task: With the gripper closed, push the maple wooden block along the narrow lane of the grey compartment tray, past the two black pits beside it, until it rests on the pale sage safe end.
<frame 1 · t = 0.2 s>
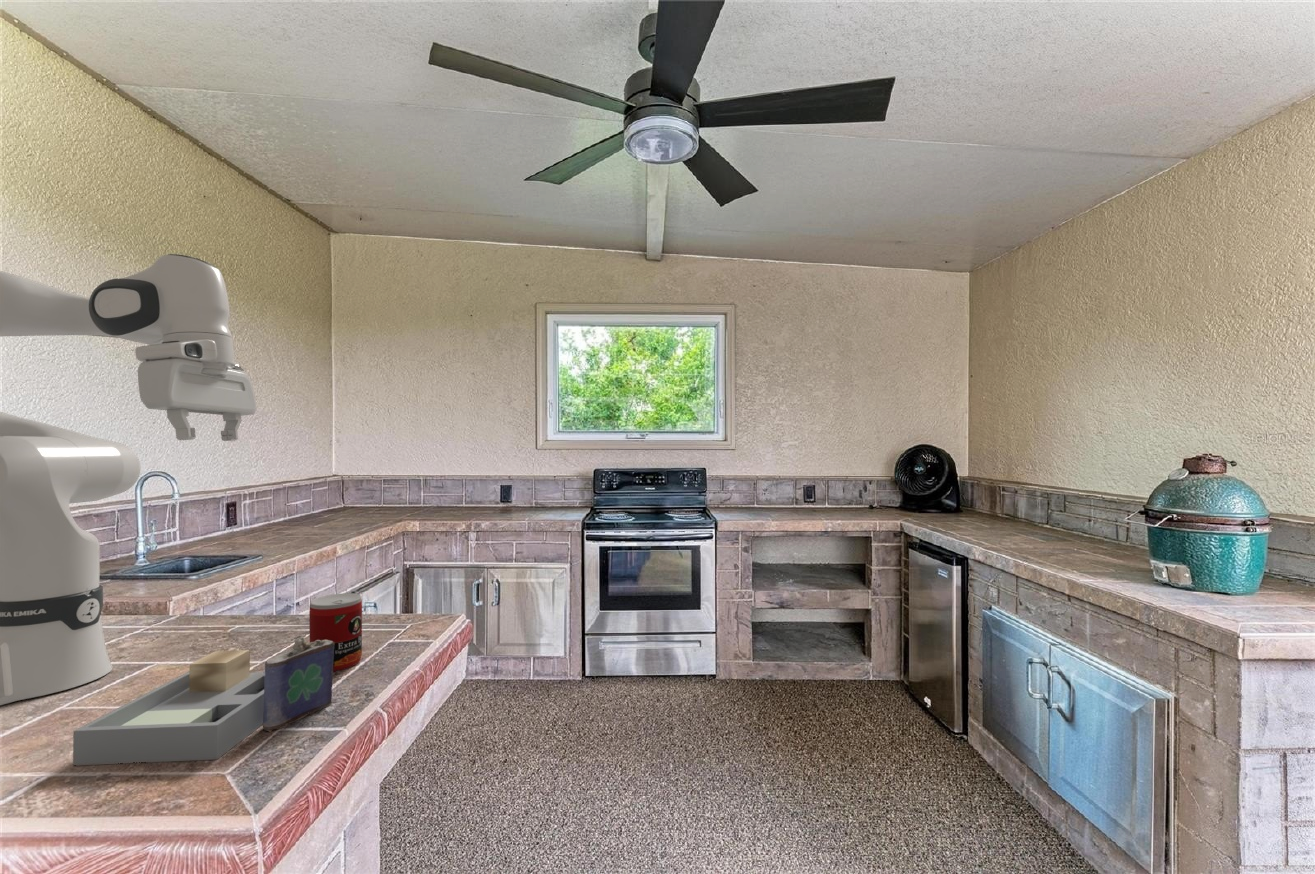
hand: (209, 440, 89), 38 cm above the counter, tool pointing down, fingers open, 8 cm apart
canned food: (336, 664, 94), on the counter
flask: (298, 716, 76), on the counter
grey compartment tray: (212, 718, 75), on the counter
maple block: (220, 684, 81), point 2 cm above the counter, touching grey compartment tray
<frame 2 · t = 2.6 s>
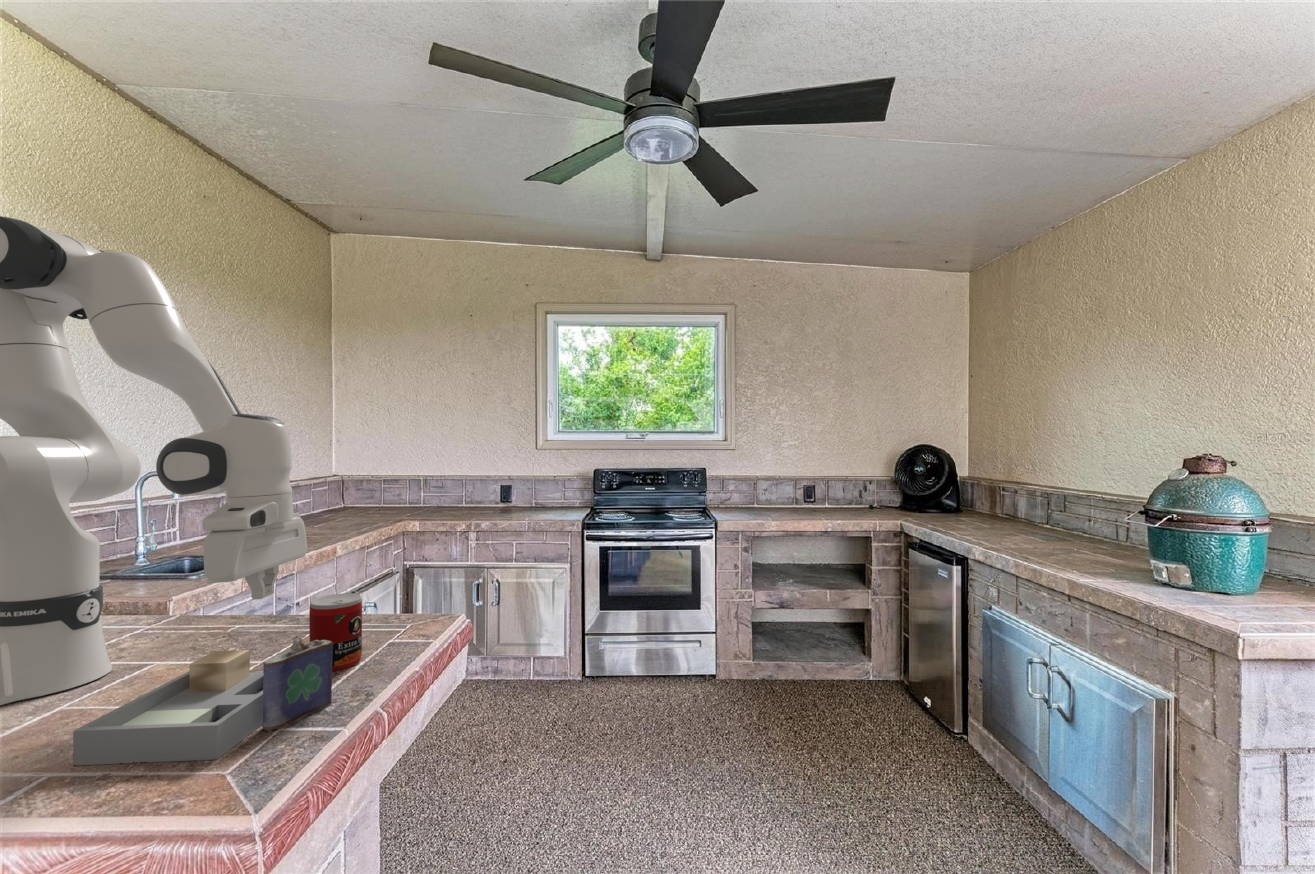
hand: (263, 597, 90), 12 cm above the counter, tool pointing down, fingers closed
nothing on the counter moved.
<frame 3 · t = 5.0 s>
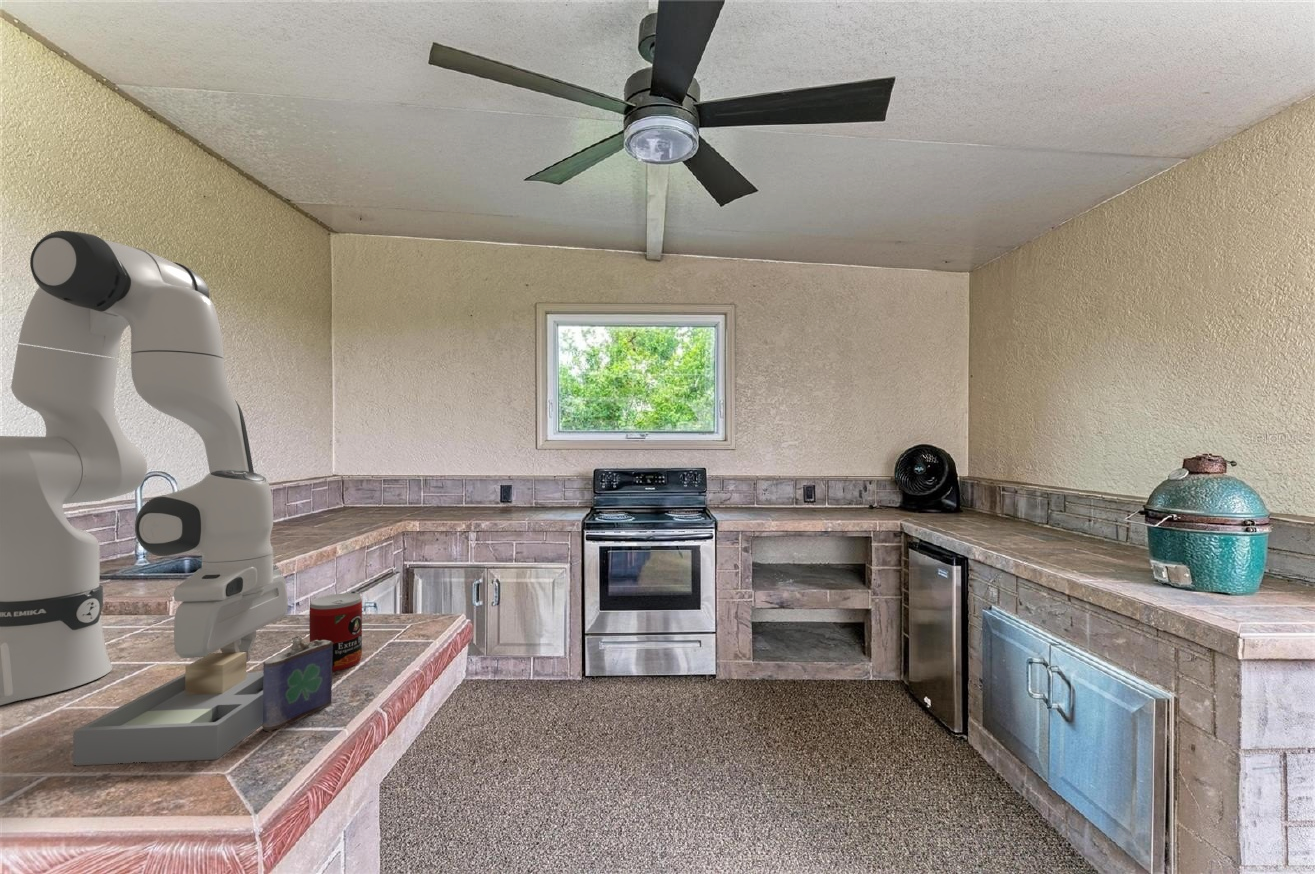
hand: (238, 665, 85), 3 cm above the counter, tool pointing down, fingers closed
maple block: (216, 686, 80), point 2 cm above the counter, touching gripper
everything else where it was.
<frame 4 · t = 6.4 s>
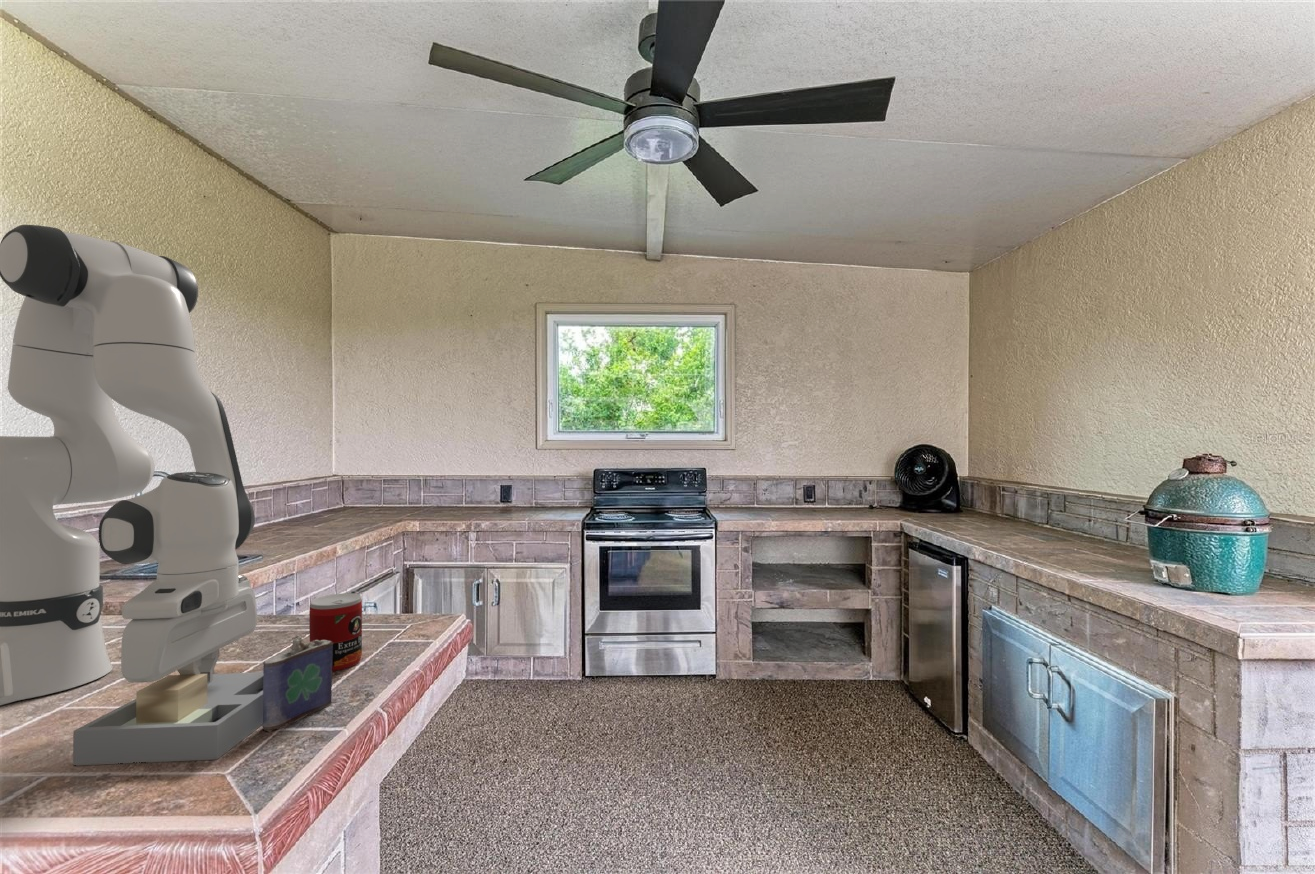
hand: (198, 687, 77), 3 cm above the counter, tool pointing down, fingers closed
maple block: (173, 713, 72), point 2 cm above the counter, touching gripper, grey compartment tray
everything else where it was.
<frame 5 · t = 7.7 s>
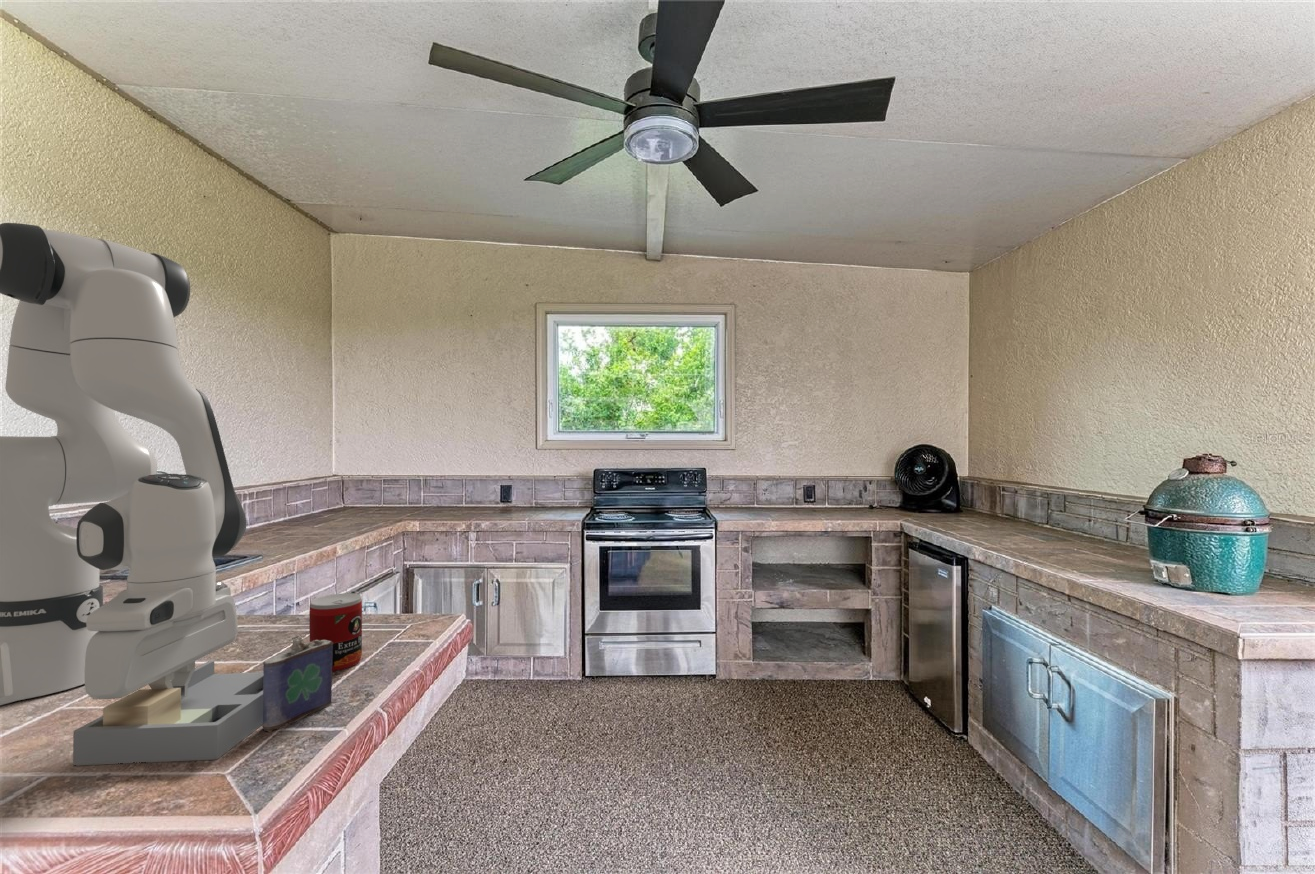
hand: (172, 702, 72), 3 cm above the counter, tool pointing down, fingers closed
maple block: (143, 730, 68), point 2 cm above the counter, touching gripper, grey compartment tray
everything else where it was.
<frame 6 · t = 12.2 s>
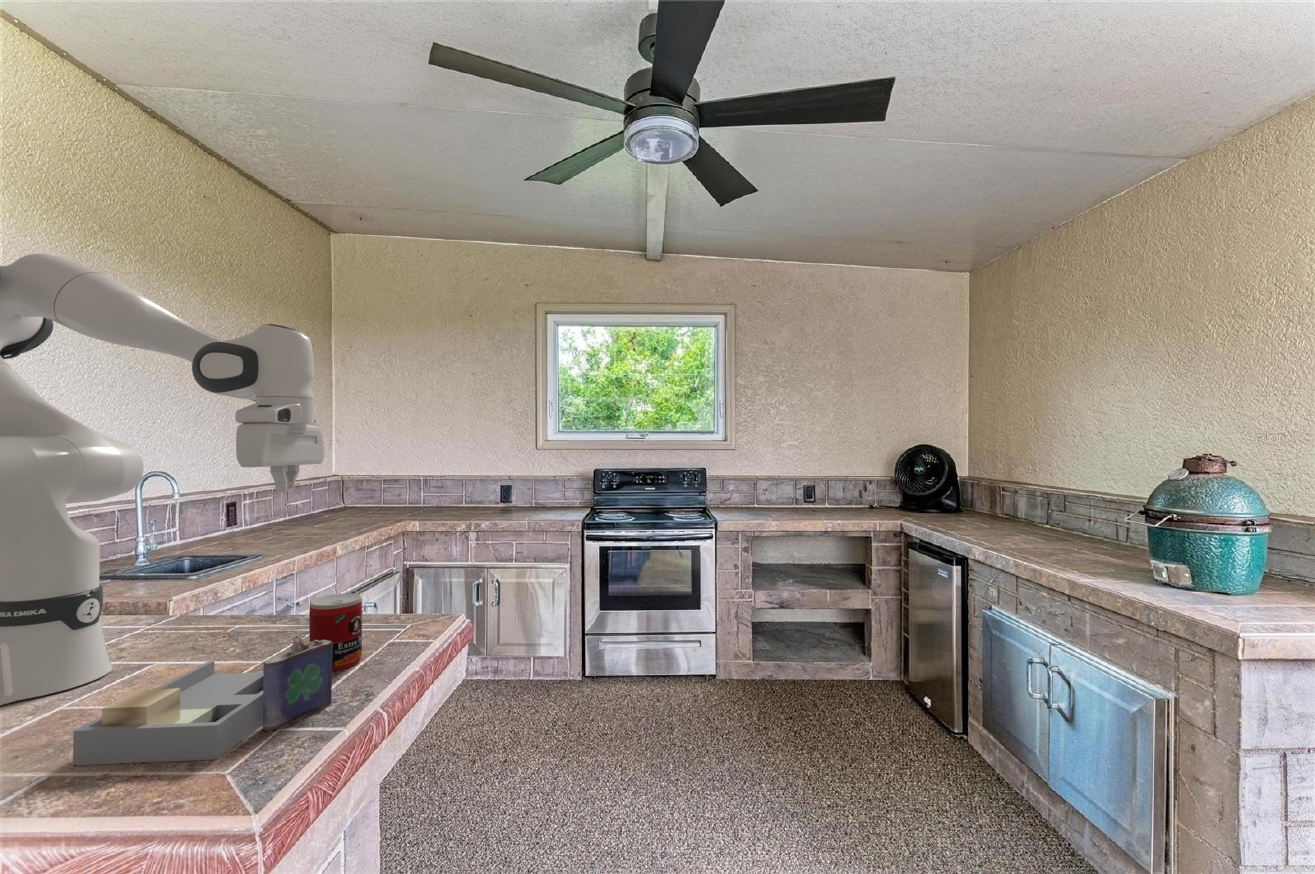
hand: (285, 491, 99), 29 cm above the counter, tool pointing down, fingers closed
maple block: (142, 730, 68), point 2 cm above the counter, touching grey compartment tray
everything else where it was.
at the end: maple block inside the target area on the grey compartment tray (1.2 cm from its centre), point 2.0 cm above the grey compartment tray's base; maple block tilted 0°; maple block moved 13.4 cm from its start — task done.
